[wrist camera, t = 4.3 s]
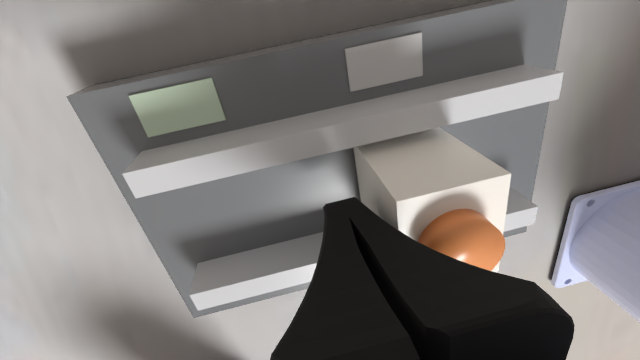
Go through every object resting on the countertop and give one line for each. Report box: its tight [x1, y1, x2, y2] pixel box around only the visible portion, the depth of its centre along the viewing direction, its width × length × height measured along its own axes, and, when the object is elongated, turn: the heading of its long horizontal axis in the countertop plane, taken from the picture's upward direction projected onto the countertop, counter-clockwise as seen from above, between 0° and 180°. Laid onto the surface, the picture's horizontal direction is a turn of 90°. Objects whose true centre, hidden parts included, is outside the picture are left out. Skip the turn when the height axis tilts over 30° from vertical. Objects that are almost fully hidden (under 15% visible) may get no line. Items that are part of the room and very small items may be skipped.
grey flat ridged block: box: [67, 0, 567, 318], centre depth 14 cm, size 19×12×4 cm, turn 101°
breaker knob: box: [353, 127, 511, 272], centre depth 12 cm, size 4×4×6 cm
